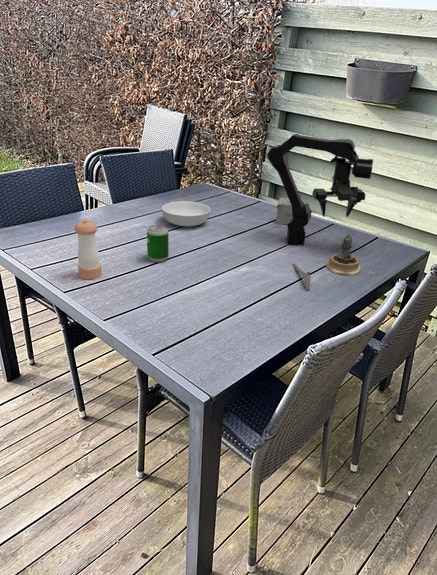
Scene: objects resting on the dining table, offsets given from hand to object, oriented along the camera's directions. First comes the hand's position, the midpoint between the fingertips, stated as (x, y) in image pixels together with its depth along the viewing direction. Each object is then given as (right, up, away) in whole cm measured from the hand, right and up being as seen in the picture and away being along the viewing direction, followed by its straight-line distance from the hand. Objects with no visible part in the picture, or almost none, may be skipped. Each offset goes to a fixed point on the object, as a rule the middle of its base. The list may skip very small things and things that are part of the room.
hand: (335, 216), depth 181 cm
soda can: (-66, -17, -10) cm, 69 cm away
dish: (0, -20, -11) cm, 23 cm away
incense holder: (-14, +1, +31) cm, 34 cm away
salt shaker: (0, -19, -11) cm, 22 cm away
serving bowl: (-59, +1, +26) cm, 64 cm away
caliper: (-17, -24, -18) cm, 34 cm away
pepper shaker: (-87, -23, -24) cm, 93 cm away
